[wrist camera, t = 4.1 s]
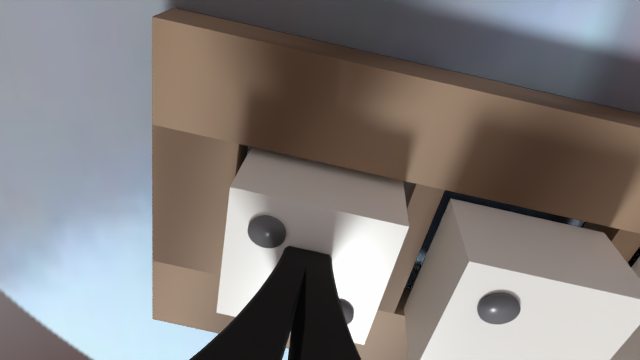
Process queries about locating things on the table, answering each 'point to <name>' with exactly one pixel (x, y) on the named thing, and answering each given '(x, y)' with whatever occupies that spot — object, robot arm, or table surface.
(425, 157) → the tile board
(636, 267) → the one dot tile
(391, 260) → the three dot tile
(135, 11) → the table surface
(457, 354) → the two dot tile
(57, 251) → the table surface
